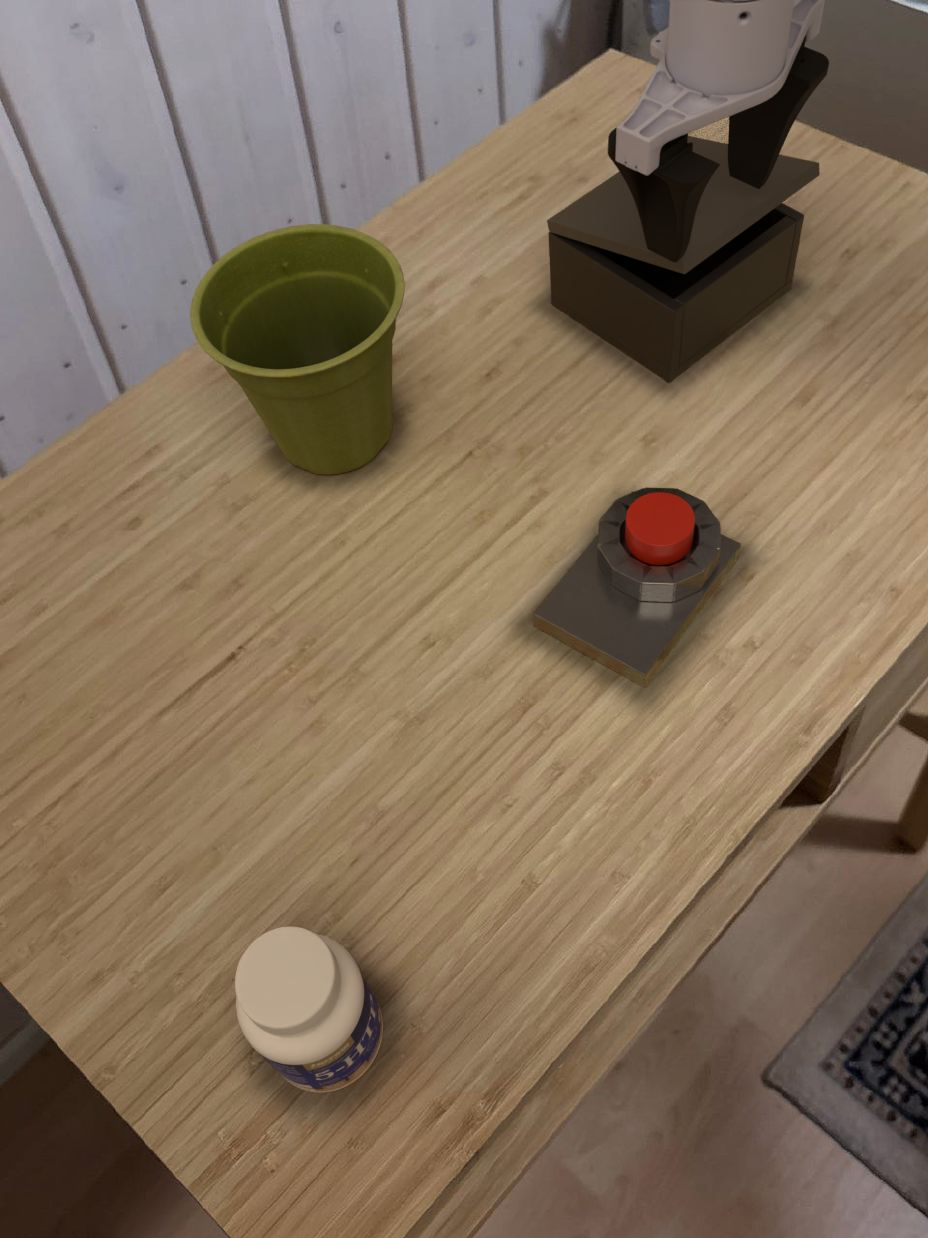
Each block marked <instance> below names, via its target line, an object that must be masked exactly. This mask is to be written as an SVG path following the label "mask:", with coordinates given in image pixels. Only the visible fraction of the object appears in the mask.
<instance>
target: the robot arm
mask: <svg viewBox="0 0 928 1238" xmlns="http://www.w3.org/2000/svg"><path fill="white" fill-rule="evenodd" d="M825 3H826V0H669V10H668V11H669V13H668V27H666V28H665V29H664V30H662V31H661V32H660V33H658V34H657V35H656V36H654V37H653V38H652V39H651V40H650V44H649V45H650V47H649V54H650V56H651V57H653V58H654V59H656V60H659V61H658V62H657V64H656V66H655V68H654V70H653V72H652V74H651V76H650V77H649V80H648V81H647V83H646V85H645V87H644V89H643V90H642V93H641V95H640V97H639V98H638V100H637V102H636V104H635V106H634V107H633V109H632V110H631V112H630V113H629V114H628V115H627V116H626V118H624V119H623V120H622V121H621V122H620V123H619V124H618V125H617V126H616V127H615V128H614V129H612V130H611V131H610V132H609V134H608V137H607V155H608V158H609V159H610V160H611V162H612V163H613V164H614V166H615V167H616V168H617V170H618V172H619V171H620V173H621V175H622V176H623V178H624V180H625V181H626V183H627V185H628V187H629V189H630V191H631V194H632V196H633V198H634V201H635V204H636V207H637V210H638V213H639V217H640V220H641V224H642V228H643V232H644V237H645V241H646V245H647V249H648V250H650V251H652V252H654V253H656V254H658V255H660V256H662V257H664V258H666V259H668V260H670V261H672V262H678V261H679V260H680V259H681V258H682V257H683V256H684V254H685V252H686V250H687V247H688V245H689V241H690V237H691V233H692V228H693V223H694V218H695V214H696V210H697V207H698V204H699V201H700V198H701V196H702V194H703V192H704V189H705V187H706V186H707V184H708V182H709V180H710V178H711V177H712V175H713V174H714V173H715V171H716V170H717V168H718V167H719V166H720V164H719V163H717V162H714V161H712V160H710V159H708V158H706V157H703V156H701V155H699V154H697V153H695V152H692V151H693V143H692V142H690V143H688V142H687V140H688V136H689V134H690V133H692V132H695V131H697V130H699V129H703V128H705V127H707V126H709V125H712V124H714V123H716V122H719V121H721V120H723V119H726V118H728V135H727V136H728V137H727V144H728V168H729V175H730V176H731V177H733V178H735V179H738V180H740V181H742V182H744V183H746V184H748V185H751V186H753V187H755V188H757V189H760V188H761V187H762V186H763V185H764V184H765V183H766V181H767V180H768V178H769V176H770V174H771V172H772V170H773V167H774V165H775V163H776V161H777V158H778V156H779V155H780V153H781V151H782V149H783V146H784V144H785V142H786V139H787V138H788V135H789V133H790V131H791V129H792V127H793V125H794V123H795V121H796V120H797V118H798V116H799V115H800V113H801V111H802V109H803V107H804V106H805V104H806V103H807V102H808V100H809V99H810V97H811V96H812V94H813V93H814V91H815V90H816V89H817V88H818V86H819V85H820V84H821V83H822V81H823V80H824V79H825V78H826V77H827V75H828V70H829V65H830V60H829V58H828V56H827V55H825V54H823V52H820V51H817V50H814V49H813V48H809V47H806V43H807V42H810V41H812V40H813V39H814V38H816V36H818V35H819V34H820V31H821V25H822V21H823V14H824V9H825Z"/></svg>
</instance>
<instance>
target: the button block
mask: <svg viewBox="0 0 928 1238" xmlns="http://www.w3.org/2000/svg"><path fill="white" fill-rule="evenodd" d="M655 492H665V493H671V494H674V495H676V496H679V497H680V498H682V499H684V500H685V501H686V502H687V503H688V504H689V505H690V506H691V508H692V510H693V512H694V515H695V526H694V534H693V543H692V546H691V548H690V550H689V552H688V553H687V554H686V555H685V556H684V557H683V558H682V559H680V560H678V561H676V562H674V563H671V564H667V565H652V564H648V563H645V562H643V561H641V560H639V559H637V558H636V557H635V556H634V555H633V554H632V553H631V552H630V551H629V549H628V548H627V545H626V541H625V527H626V514H627V511H628V509H629V507H630V506H631V504H632V503H633V502H634V501H635V500H636V499H638V498H639V497H641V496H643V495H646V494H649V493H655ZM597 530H598V531H597V534H596V535H595V537H594V538H593V539H592V541H591V542H590V543H589V544H588V545H587V547H585V549H584V550H583V551H582V553H581V554H580V555H579V556H578V558H577V559H576V560H575V562H573V564H572V565H571V567H569V569H568V570H567V572H565V573H564V575H563V576H562V578H561V579H560V580H559V581H558V583H557V584H556V585H555V586H554V587H553V589H552V590H551V591H550V592H549V593H548V594H547V596H546V597H545V599H544V600H543V601H542V602H541V604H539V606H538V607H537V608H536V610H535V611H534V613H533V614H532V615H533V626H534V627H535V628H536V629H538V630H540V631H541V632H544V633H546V634H547V635H549V636H551V637H553V638H554V639H556V640H558V641H560V642H562V643H563V644H565V645H567V646H568V647H571V648H572V649H574V650H576V651H578V652H580V653H581V654H583V655H585V656H587V657H589V658H590V659H592V660H594V661H596V662H598V664H599V663H600V664H601V665H603V666H604V667H607V668H608V669H610V670H612V671H614V672H616V673H617V674H619V675H621V676H623V677H624V678H627V679H628V680H630V681H632V682H633V683H636V684H637V685H639V686H641V687H643V688H645V687H646V686H647V684H648V683H650V681H651V680H652V678H653V676H654V675H655V674H656V672H658V669H660V667H661V665H662V664H663V662H664V661H665V660H666V659H667V657H668V656H669V654H670V653H671V652H672V650H673V649H674V647H675V646H676V645H677V643H678V642H679V640H680V639H681V638H682V637H683V635H684V634H685V632H686V631H687V630H688V628H689V627H690V625H691V624H692V623H693V621H694V620H695V619H696V617H697V616H698V614H699V613H700V612H701V610H702V609H703V608H704V606H705V605H706V603H707V602H708V601H709V599H710V598H711V596H712V595H713V594H714V593H715V591H716V590H717V588H718V587H719V585H720V584H721V583H722V581H723V580H724V578H725V577H726V576H727V575H728V573H729V572H730V570H731V569H732V567H734V565H735V564H736V562H737V561H738V559H739V558H740V554H741V548H742V543H741V542H739V541H736V540H734V539H733V538H730V537H729V536H726V535H724V534H722V526H721V522H720V520H719V519H718V518H717V517H716V515H715V514H714V513H713V511H712V510H711V508H710V507H709V505H708V504H707V503H706V501H704V500H703V499H700V498H699V497H696V496H694V495H692V494H690V493H688V492H685V491H683V490H682V489H679V488H677V487H676V488H675V487H647V486H646V487H642V488H640V489H637V490H635V491H631V492H630V493H627V494H625V495H623V496H621V497H619V498H617V499H615V500H614V501H613V502H612V504H611V505H610V506H609V507H608V509H607V510H605V512H604V514H602V515H601V517H600V519H599V520H598V529H597Z"/></svg>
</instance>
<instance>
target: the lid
mask: <svg viewBox="0 0 928 1238" xmlns="http://www.w3.org/2000/svg"><path fill="white" fill-rule="evenodd" d="M687 142H688V143H690V142H692V143H693V151H692V152H695V153H697V154H699V155H701V156H703V157H706V158H708V159H710V160H712V161H714V162H717V163H719V164H720V166H719V167H718V168H717V170H716V171H715V173H714V174H713V175H712V177H711V178H710V180H709V182H708V184H707V186H706V187H705V189H704V192H703V194H702V196H701V198H700V201H699V204H698V207H697V210H696V214H695V218H694V223H693V228H692V233H691V237H690V241H689V245H688V247H687V250H686V252H685V254H684V256H683V257H682V258H681V259H680V260H679V261H678V262H672V261H670V260H668V259H666V258H664V257H662V256H660V255H658V254H656V253H654V252H652V251H650V250H648V249H647V245H646V241H645V237H644V232H643V228H642V224H641V220H640V217H639V213H638V210H637V207H636V204H635V201H634V198H633V196H632V194H631V191H630V189H629V187H628V185H627V183H626V181H625V180H624V178H623V176H622V175H621V173H620V171H619V170H618V172H616V173H614V174H613V175H612V176H610V177H608V178H607V179H606V180H604V181H603V182H601V183H599V184H598V185H597V186H596V187H594V188H592V189H591V190H590V191H588V192H587V193H585V194H583V195H582V196H580V197H579V198H578V199H576V200H574V201H573V202H571V203H570V204H568V205H567V206H566V207H564V208H563V209H561V210H560V211H558V212H557V213H556V214H554V215H553V216H551V217H550V218H548V219H547V220H546V223H547V227H548V228H547V229H548V233H549V232H551V233H555V234H558V235H561V236H564V237H567V238H571V239H574V240H577V241H580V242H583V243H586V244H590V245H593V246H596V247H599V248H602V249H606V250H609V251H612V252H615V253H618V254H622V255H625V256H628V257H631V258H634V259H638V260H641V261H644V262H647V263H650V264H653V265H657V266H660V267H663V268H666V269H669V270H673V271H676V272H679V273H682V274H686V273H687V272H688V271H690V270H691V269H693V268H694V267H695V266H697V265H698V264H699V263H701V262H702V261H703V260H705V259H706V258H707V257H709V256H710V255H712V254H713V253H714V252H716V251H717V250H718V249H720V248H721V247H722V246H724V245H725V244H727V243H728V242H729V241H731V240H732V239H733V238H735V237H736V236H737V235H739V234H740V233H742V232H743V231H744V230H746V229H747V228H748V227H750V226H751V225H752V224H754V223H755V222H757V221H758V220H759V219H761V218H762V217H763V216H765V215H766V214H767V213H769V212H770V211H771V210H773V209H774V208H776V207H777V206H778V205H780V204H781V203H784V202H785V201H786V200H788V199H789V198H791V197H792V196H793V195H795V194H796V193H797V192H799V191H801V189H803V188H804V187H805V186H807V185H808V184H810V183H811V182H813V180H815V179H817V178H818V177H819V176H821V173H820V162H818V161H813V160H808V159H803V158H798V157H793V156H789V155H785V154H784V155H783V154H779V156H778V158H777V161H776V163H775V165H774V167H773V170H772V172H771V174H770V176H769V178H768V180H767V181H766V183H765V184H764V185H763V186H762V187H761V188H760V189H757V188H755V187H753V186H751V185H748V184H746V183H744V182H742V181H740V180H738V179H735V178H733V177H731V176H730V175H729V168H728V143H725V142H720V141H715V140H711V139H705V138H701V137H697V136H692V135H688V140H687Z"/></svg>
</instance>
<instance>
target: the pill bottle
mask: <svg viewBox="0 0 928 1238" xmlns="http://www.w3.org/2000/svg"><path fill="white" fill-rule="evenodd" d="M234 990H235V995H236V998H235V1012H236V1018H237V1022H238V1024H239V1027H240V1030H241V1032H242V1034H243V1035H244V1037H245V1039H246V1040H247V1042H248V1043H249V1044H250V1046H251V1047H252V1049H254V1051H256V1052H257V1053H258V1054H259V1055H260V1056H261V1057H262V1058H263V1059H264V1060H265V1061H266V1062H267V1063H268V1064H269V1065H270V1066H271V1067H272V1068H273V1069H274V1070H275V1071H276V1072H277V1073H278V1074H279V1075H280V1076H281V1077H282V1078H283V1079H284V1080H286V1081H287V1083H290V1084H291V1085H292V1086H294V1087H296V1088H298V1089H300V1090H303V1091H306V1092H311V1093H331V1092H335V1091H340V1090H341V1089H344V1088H346V1087H348V1086H350V1085H351V1084H353V1083H354V1082H356V1081H358V1079H360V1078H361V1077H362V1076H363V1075H364V1074H365V1073H366V1072H367V1071H368V1070H369V1068H370V1067H371V1066H372V1064H373V1063H374V1061H375V1059H376V1057H377V1055H378V1053H379V1051H380V1047H381V1045H382V1041H383V1033H384V1022H383V1015H382V1011H381V1006H380V1004H379V1002H378V1000H377V998H376V996H375V994H374V992H373V991H372V989H371V987H370V985H369V983H368V981H367V979H366V978H365V976H364V974H363V972H362V970H361V969H360V967H359V965H358V963H357V962H356V960H355V959H354V957H353V956H352V954H351V953H350V952H349V951H348V950H347V949H346V947H344V946H343V945H342V944H341V943H339V942H338V941H337V940H335V939H333V938H331V937H329V936H325V935H323V934H320V933H315V932H314V931H311V930H310V929H307V928H304V927H300V926H291V925H288V926H281V927H276V928H274V929H271V930H268V931H266V932H264V933H262V934H261V935H259V936H258V937H257V938H256V939H255V940H253V941H252V942H251V943H250V944H249V945H248V947H246V949H245V950H244V952H243V953H242V955H241V957H240V959H239V961H238V964H237V967H236V971H235V976H234Z"/></svg>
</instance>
